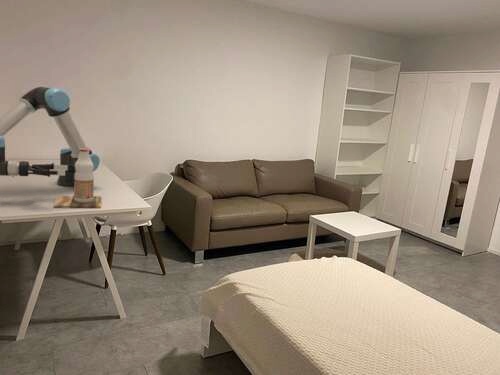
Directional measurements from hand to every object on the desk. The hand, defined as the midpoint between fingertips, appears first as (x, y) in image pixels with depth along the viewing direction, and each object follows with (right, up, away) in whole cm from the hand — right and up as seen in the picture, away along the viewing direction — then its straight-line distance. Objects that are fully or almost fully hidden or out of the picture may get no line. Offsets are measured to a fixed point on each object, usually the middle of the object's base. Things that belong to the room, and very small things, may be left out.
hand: (66, 170), depth 197 cm
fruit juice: (+6, -16, +6) cm, 19 cm away
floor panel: (+4, -17, +6) cm, 19 cm away
